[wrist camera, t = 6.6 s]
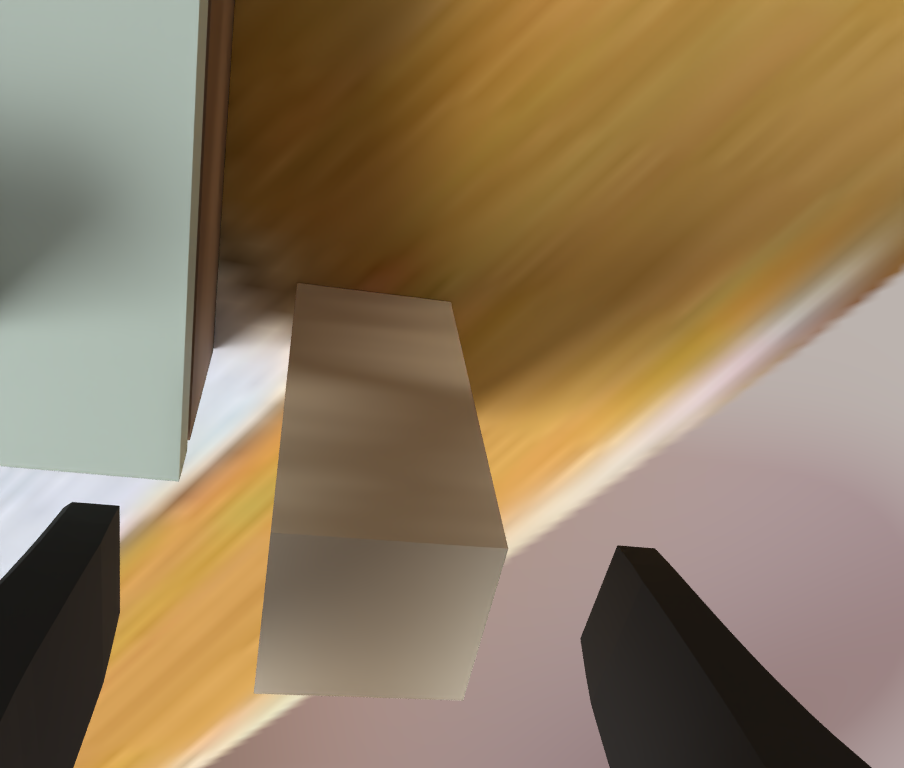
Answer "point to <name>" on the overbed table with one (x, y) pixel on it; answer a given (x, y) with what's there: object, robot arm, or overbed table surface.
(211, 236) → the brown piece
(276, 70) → the overbed table surface
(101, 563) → the robot arm
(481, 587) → the block
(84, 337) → the lid
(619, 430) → the overbed table surface
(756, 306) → the overbed table surface
